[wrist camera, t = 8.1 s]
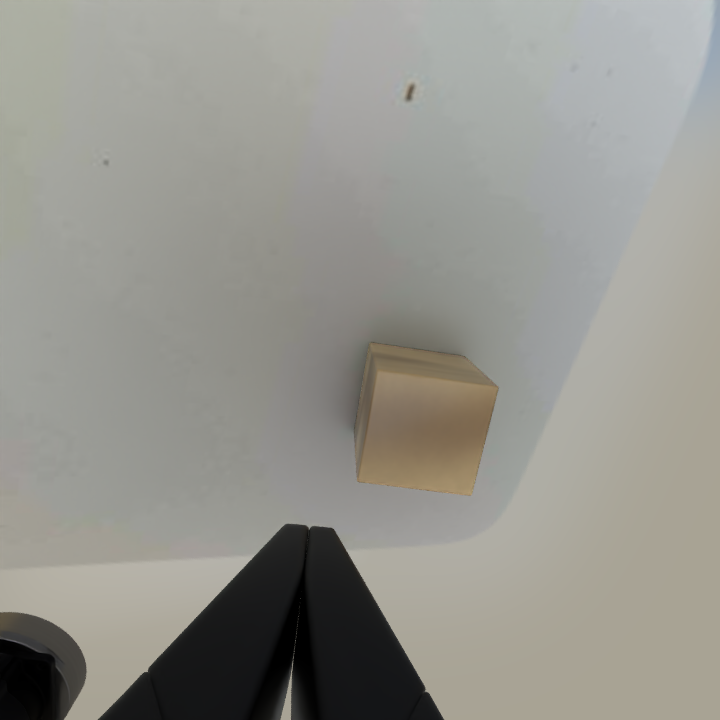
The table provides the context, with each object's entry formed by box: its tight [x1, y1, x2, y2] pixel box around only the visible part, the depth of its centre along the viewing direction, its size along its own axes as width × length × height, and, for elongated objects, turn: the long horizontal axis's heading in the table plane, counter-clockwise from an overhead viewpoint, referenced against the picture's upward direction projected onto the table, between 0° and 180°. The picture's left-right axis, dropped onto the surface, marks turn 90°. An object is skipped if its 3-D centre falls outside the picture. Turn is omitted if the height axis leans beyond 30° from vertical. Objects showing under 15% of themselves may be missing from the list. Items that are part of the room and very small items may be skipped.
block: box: [354, 342, 498, 496], centre depth 18 cm, size 4×4×4 cm
